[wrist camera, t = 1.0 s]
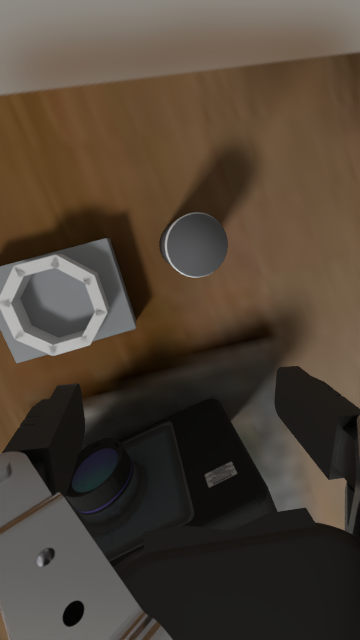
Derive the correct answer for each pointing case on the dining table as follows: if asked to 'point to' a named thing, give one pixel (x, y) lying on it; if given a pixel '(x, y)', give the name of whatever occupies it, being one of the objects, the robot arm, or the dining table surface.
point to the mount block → (63, 301)
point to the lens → (194, 244)
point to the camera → (167, 481)
